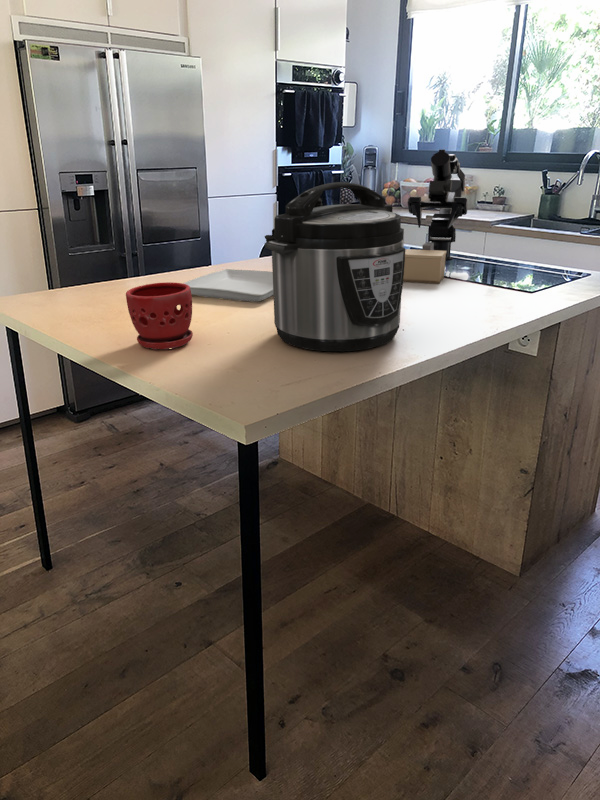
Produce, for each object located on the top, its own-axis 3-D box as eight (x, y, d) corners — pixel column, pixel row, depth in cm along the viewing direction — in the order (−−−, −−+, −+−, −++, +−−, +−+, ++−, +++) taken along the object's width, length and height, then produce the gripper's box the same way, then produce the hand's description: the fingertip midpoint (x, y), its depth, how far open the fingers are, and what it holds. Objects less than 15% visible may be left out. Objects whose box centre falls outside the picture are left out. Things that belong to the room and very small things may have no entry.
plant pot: (155, 333, 143) (150, 279, 138) (206, 338, 138) (202, 283, 134) (119, 349, 132) (111, 292, 127) (173, 356, 127) (167, 297, 122)
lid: (409, 251, 204) (410, 241, 202) (449, 253, 200) (450, 243, 198) (399, 260, 189) (399, 249, 188) (441, 262, 185) (442, 251, 184)
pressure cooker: (269, 360, 124) (263, 188, 112) (265, 322, 150) (260, 180, 138) (421, 355, 126) (431, 185, 114) (391, 318, 152) (397, 177, 140)
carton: (405, 275, 200) (406, 252, 197) (444, 277, 196) (445, 253, 193) (398, 281, 191) (399, 257, 188) (439, 283, 187) (440, 259, 184)
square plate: (175, 298, 176) (174, 284, 175) (227, 279, 199) (226, 267, 198) (261, 307, 166) (260, 292, 164) (305, 286, 188) (305, 273, 187)
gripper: (409, 170, 205) (401, 210, 200) (469, 170, 199) (462, 212, 194) (413, 193, 215) (405, 232, 210) (470, 193, 209) (463, 234, 204)
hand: (433, 227), depth 204 cm, fingers open, 9 cm apart
